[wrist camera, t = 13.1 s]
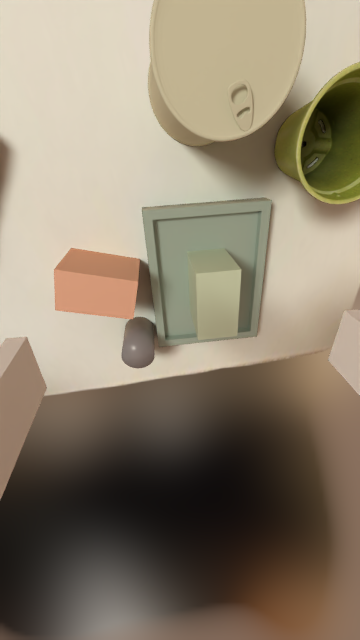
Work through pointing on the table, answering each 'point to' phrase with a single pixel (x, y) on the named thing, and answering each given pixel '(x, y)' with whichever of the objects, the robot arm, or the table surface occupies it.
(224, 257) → the sage block
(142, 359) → the grey canister
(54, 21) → the table surface
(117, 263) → the terracotta block
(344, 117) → the plant pot
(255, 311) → the tray
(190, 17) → the can
